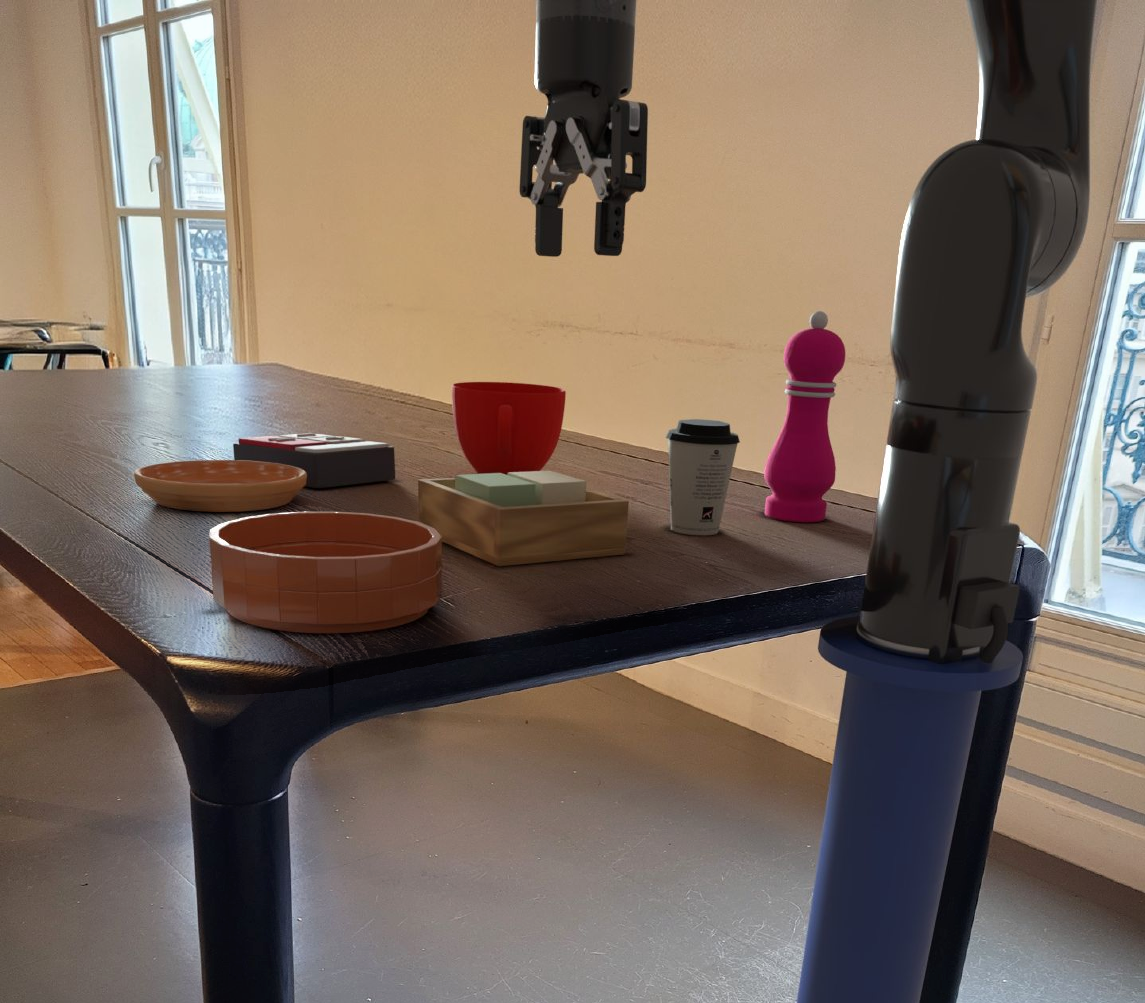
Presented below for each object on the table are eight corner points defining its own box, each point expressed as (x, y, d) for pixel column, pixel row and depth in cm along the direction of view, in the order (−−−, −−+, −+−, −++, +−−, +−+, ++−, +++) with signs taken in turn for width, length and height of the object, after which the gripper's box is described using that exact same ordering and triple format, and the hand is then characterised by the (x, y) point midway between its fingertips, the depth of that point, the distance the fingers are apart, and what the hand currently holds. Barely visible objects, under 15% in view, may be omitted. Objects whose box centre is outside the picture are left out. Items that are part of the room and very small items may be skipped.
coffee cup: (726, 540, 106) (737, 429, 103) (652, 533, 108) (661, 423, 104) (734, 526, 113) (745, 421, 109) (664, 520, 114) (672, 416, 110)
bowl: (479, 621, 77) (480, 547, 75) (259, 648, 69) (254, 567, 68) (384, 571, 89) (383, 506, 87) (186, 589, 81) (180, 518, 79)
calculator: (311, 430, 135) (395, 439, 126) (313, 468, 136) (397, 479, 127) (230, 436, 127) (314, 446, 118) (234, 475, 129) (317, 488, 119)
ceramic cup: (443, 489, 124) (443, 392, 120) (455, 465, 140) (456, 379, 136) (562, 494, 125) (566, 399, 121) (561, 470, 140) (565, 385, 136)
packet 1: (533, 542, 98) (535, 483, 96) (487, 546, 96) (489, 486, 94) (498, 529, 103) (500, 472, 101) (454, 532, 101) (455, 474, 99)
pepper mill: (801, 526, 115) (828, 312, 107) (745, 513, 120) (767, 308, 112) (843, 519, 119) (872, 313, 112) (788, 507, 124) (812, 309, 116)
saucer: (138, 487, 116) (135, 457, 115) (299, 487, 121) (297, 458, 120) (135, 518, 102) (131, 484, 101) (317, 516, 107) (315, 484, 106)
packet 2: (583, 538, 101) (586, 481, 99) (540, 542, 99) (542, 483, 97) (547, 525, 106) (550, 470, 104) (505, 528, 103) (507, 472, 101)
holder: (625, 554, 99) (629, 500, 97) (498, 566, 92) (499, 509, 90) (536, 522, 110) (538, 473, 108) (418, 531, 103) (417, 479, 102)
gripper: (683, 15, 83) (667, 258, 89) (573, 43, 94) (566, 258, 100) (599, -3, 79) (589, 253, 85) (495, 28, 90) (492, 253, 96)
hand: (576, 255), depth 93 cm, fingers open, 8 cm apart
